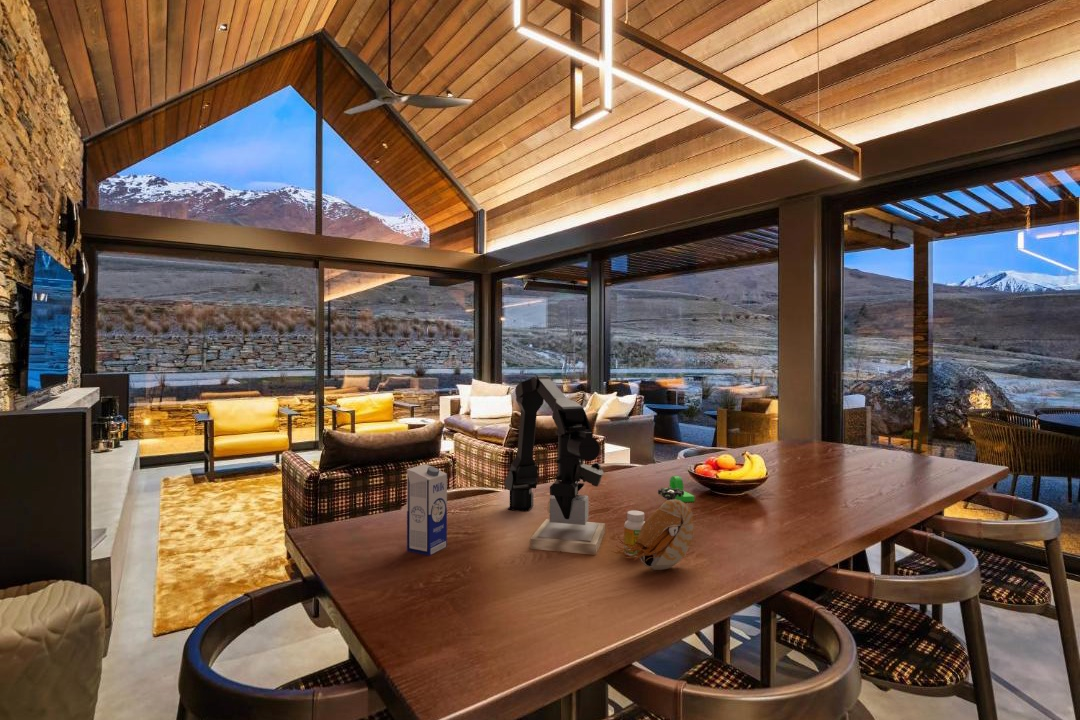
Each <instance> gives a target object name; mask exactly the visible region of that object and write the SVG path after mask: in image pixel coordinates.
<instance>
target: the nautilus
mask: <svg viewBox="0 0 1080 720" xmlns="http://www.w3.org/2000/svg"><path fill="white" fill-rule="evenodd" d="M693 517H694V516H693V511H692V509H691V508H690V507H689V506H688V504H686V502H682V501H680V500H676V499H673V500H667V499H666V501H664V502H663V503H662V504H661V505H660V507H658V508H657V509H655V511H652V513H650V515H649V516H648V517H647V518H646V519H645V520H644V521H645V523H644V524H643V526H642V528H641V531H640V533H639V537H638V539H637V541H636V542H635V543H634V544H633V545H634V546H633V545H631V544H625V543H624V541H622V539H621V538H619V536H617V539H618V540H619V543H620V544H623V545H626V546H628V545H631V546H633V547H631V546H628V547H627V548H628V549H631V550H628V549H627V548H624V547H623V548H622V547H619V546H618V545H616V547H617V548H619V549H620V550H618V549H616V551H612V550H611V552H612V553H614V554H621V557H623V558H625V559H626V558H627V559H634V561H636V560H638V559H640V561H641V562H642V564H643V565H645V566H646V567H647V568H649V569H651V570H655V571H657V570H658V571H660V570H661V571H663V570H664V571H665V570H667V569H671V568H673V567H674V566H675V565H677V564H678V563H679V562H681V560H682V559H683V558H684V557H685V556H686V555H687V554H686V553H688V550H689V548H690V546H691V544H692V540H693V535H694V521H693V520H694V519H693ZM625 550H626V551H628V552H630V551H633V552H634V551H636V550H638V551H639V552H637V554H635V555H633V556H638V557H633V556H630V555H628V554H626V553H628V552H626V553H625V552H624V551H625ZM633 552H631V553H633ZM629 554H630V553H629Z"/></svg>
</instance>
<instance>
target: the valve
mask: <svg viewBox="0 0 1080 720" xmlns="http://www.w3.org/2000/svg"><path fill="white" fill-rule="evenodd" d="M665 488H666V487H661V488H660V489H658V490H657V494H658V495H661V496H662V497H663V498H664V499H666V501H667V500H673V499H675V498H676V496H677V495H678V497H682V495H684V491H685V490H684V489H683V490H680V489H679V488H676V489H672V488H671V487H670V486H669V487H667V488H668V489H665ZM661 493H662V494H661ZM666 495H667V496H666Z"/></svg>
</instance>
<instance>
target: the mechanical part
mask: <svg viewBox="0 0 1080 720" xmlns="http://www.w3.org/2000/svg"><path fill="white" fill-rule="evenodd" d="M669 487H671V488H672V489H676V488H679V489H680V490H683V491H684V495H682V497H678V495H677V496H676V498H675V499H676V500H680V501H682V502H684V503H688V502H692V503H693V502H695V501H696V500H695V495H693V494H692V493H689V492H687V491H685V490H684V483H683V479H682V477H681V476H679V475H677V476H676V475H675V476H671V477H670V479H669ZM664 488H665V489H668V487H664ZM660 495H662V493H661V494H660ZM666 496H667V495H666Z"/></svg>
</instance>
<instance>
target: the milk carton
mask: <svg viewBox="0 0 1080 720" xmlns="http://www.w3.org/2000/svg"><path fill="white" fill-rule="evenodd" d="M406 470H407V471H406V479H407V480H406V551H407V552H410V553H415V554H420V555H424V556H425V555H426V556H431V555H433V554H435V553H437V552H440V551H441V550H443V549H445V548H447V546H448V544H447V543H448V541H447V539H448V537H447V536H448V535H447V533H448V531H447V530H448V520H447V519H448V511H447V510H448V473H447V472H444V471H442V470H440V469H439V468H437V467H434V466H432V465H429V464H426V463H425V464H424V463H423V464H421V465H418V466H414V467H410V468H407V469H406Z"/></svg>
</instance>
